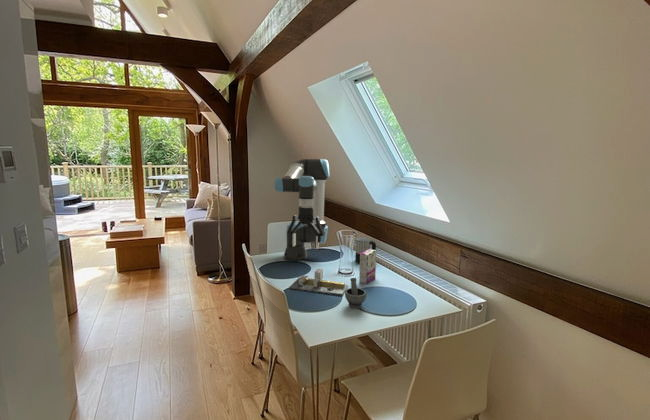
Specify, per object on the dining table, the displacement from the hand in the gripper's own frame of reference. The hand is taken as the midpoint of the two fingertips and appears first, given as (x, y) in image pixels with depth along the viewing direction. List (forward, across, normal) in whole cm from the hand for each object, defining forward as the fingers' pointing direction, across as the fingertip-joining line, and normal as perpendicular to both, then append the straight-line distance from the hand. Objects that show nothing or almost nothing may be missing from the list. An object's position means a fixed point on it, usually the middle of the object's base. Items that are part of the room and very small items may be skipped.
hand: (305, 247), depth 183 cm
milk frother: (+21, +20, +52) cm, 59 cm away
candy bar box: (+21, +30, +17) cm, 40 cm away
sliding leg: (+19, +7, -1) cm, 21 cm away
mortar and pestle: (+21, +30, -16) cm, 40 cm away
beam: (+19, +9, -2) cm, 21 cm away
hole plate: (+20, +8, -2) cm, 22 cm away
